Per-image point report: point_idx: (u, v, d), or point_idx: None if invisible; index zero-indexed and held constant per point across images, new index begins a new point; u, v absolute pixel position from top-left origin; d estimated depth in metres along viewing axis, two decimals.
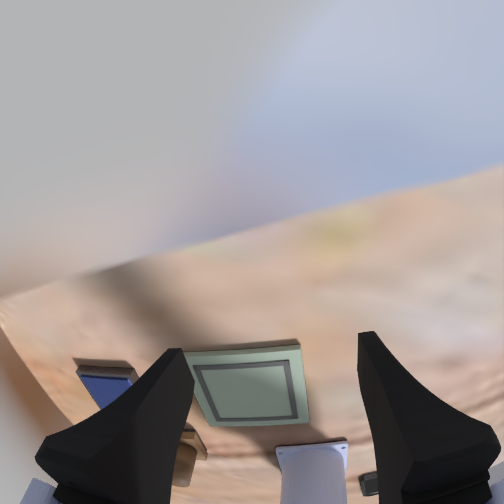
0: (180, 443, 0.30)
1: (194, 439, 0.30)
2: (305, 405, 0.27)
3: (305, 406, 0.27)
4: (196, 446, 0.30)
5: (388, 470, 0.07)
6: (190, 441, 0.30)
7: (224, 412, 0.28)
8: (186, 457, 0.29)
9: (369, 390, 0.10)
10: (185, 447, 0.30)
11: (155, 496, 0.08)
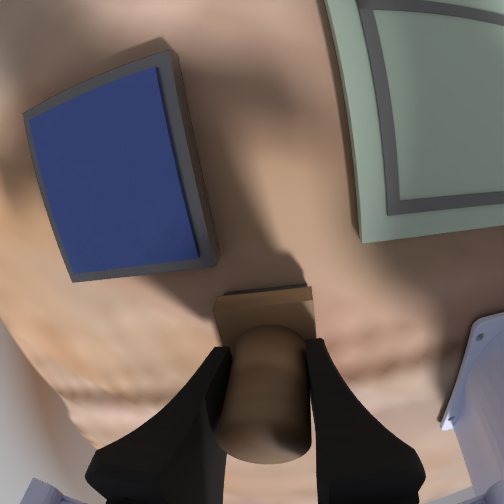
0: (267, 326, 0.12)
1: None
2: None
3: None
4: (311, 332, 0.12)
5: None
6: (300, 312, 0.12)
7: (415, 172, 0.10)
8: (293, 360, 0.11)
9: (312, 398, 0.10)
10: (284, 335, 0.12)
11: None
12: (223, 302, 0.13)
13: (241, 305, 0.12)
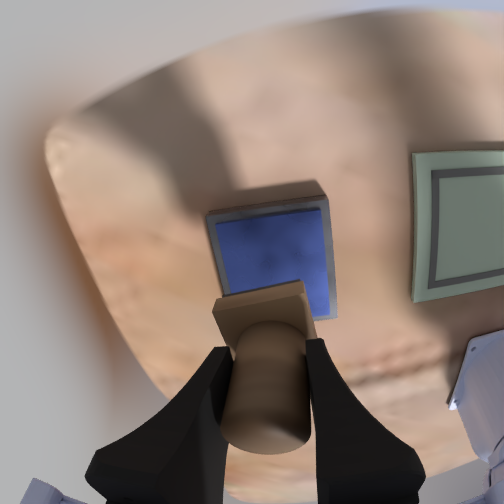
0: (264, 322, 0.13)
1: (305, 296, 0.13)
2: None
3: None
4: (308, 324, 0.13)
5: None
6: (293, 306, 0.13)
7: (444, 266, 0.19)
8: (289, 352, 0.11)
9: (312, 398, 0.10)
10: (280, 329, 0.12)
11: None
12: (221, 303, 0.13)
13: (238, 304, 0.13)
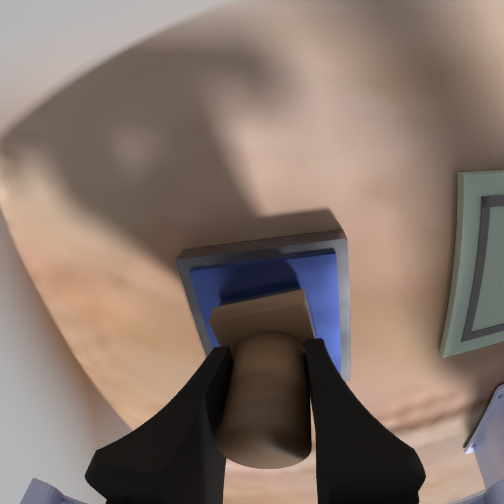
0: (263, 332, 0.12)
1: (306, 306, 0.12)
2: None
3: None
4: (308, 334, 0.12)
5: None
6: (294, 316, 0.12)
7: (484, 315, 0.14)
8: (289, 364, 0.11)
9: (312, 397, 0.10)
10: (280, 340, 0.12)
11: None
12: (218, 312, 0.13)
13: (236, 314, 0.12)
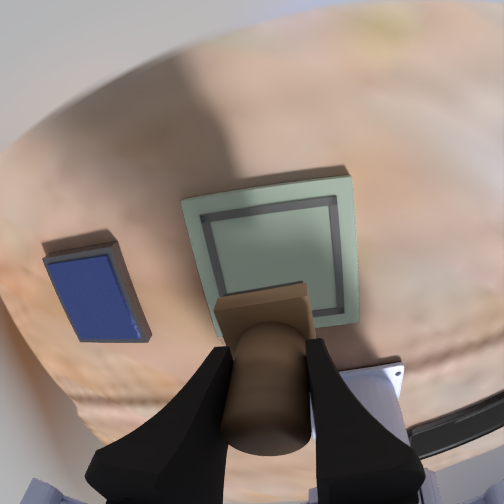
0: (266, 323, 0.13)
1: (308, 298, 0.13)
2: (355, 286, 0.20)
3: (355, 289, 0.20)
4: (309, 327, 0.13)
5: None
6: (296, 308, 0.13)
7: None
8: (291, 354, 0.11)
9: (312, 398, 0.10)
10: (282, 331, 0.12)
11: None
12: (223, 303, 0.13)
13: (240, 304, 0.13)
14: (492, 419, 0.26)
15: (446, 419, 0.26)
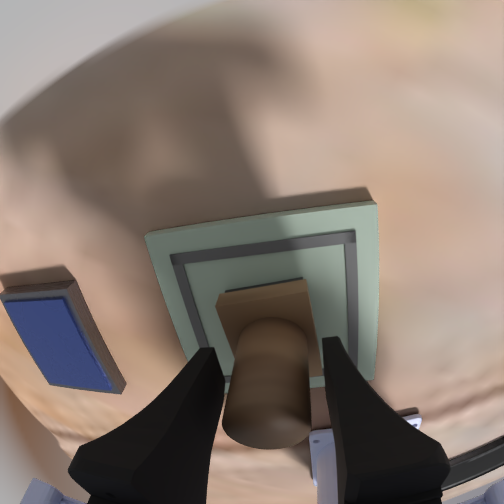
0: (267, 318, 0.13)
1: (308, 294, 0.13)
2: (373, 341, 0.15)
3: (372, 344, 0.15)
4: (309, 322, 0.13)
5: (339, 478, 0.07)
6: (296, 303, 0.13)
7: (227, 362, 0.17)
8: (291, 348, 0.12)
9: (330, 396, 0.10)
10: (282, 326, 0.13)
11: (193, 502, 0.08)
12: (224, 298, 0.14)
13: (241, 300, 0.13)
14: None
15: (459, 459, 0.21)
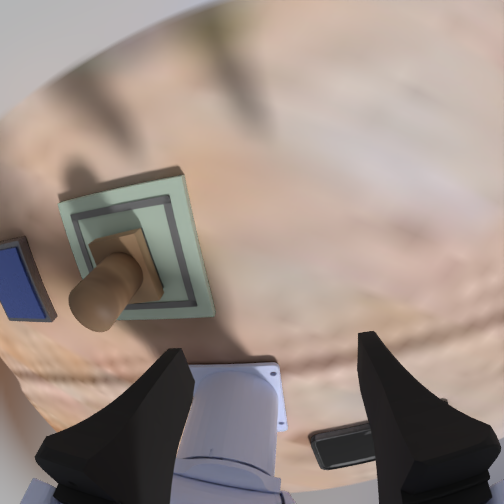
0: (114, 252, 0.19)
1: (137, 236, 0.19)
2: (202, 281, 0.22)
3: (202, 283, 0.22)
4: (140, 256, 0.20)
5: (388, 470, 0.07)
6: (130, 242, 0.19)
7: None
8: (118, 267, 0.18)
9: (369, 390, 0.10)
10: (120, 256, 0.19)
11: (155, 496, 0.08)
12: (95, 240, 0.20)
13: (101, 240, 0.20)
14: None
15: (353, 429, 0.28)
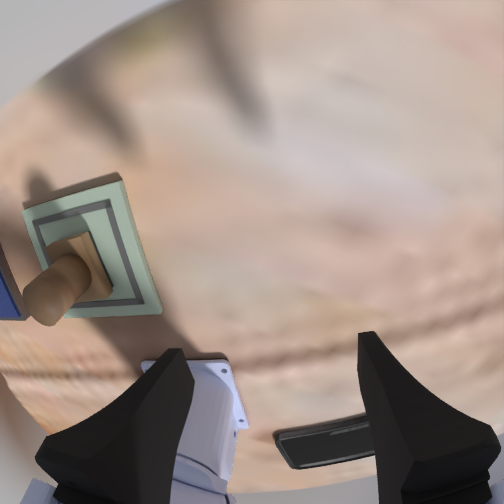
0: (66, 254, 0.20)
1: (83, 239, 0.20)
2: (146, 280, 0.22)
3: (146, 282, 0.22)
4: (87, 257, 0.20)
5: (388, 470, 0.07)
6: (77, 244, 0.20)
7: None
8: (65, 267, 0.18)
9: (369, 390, 0.10)
10: (69, 257, 0.20)
11: (155, 496, 0.08)
12: (51, 244, 0.20)
13: (55, 243, 0.20)
14: None
15: (317, 429, 0.28)
